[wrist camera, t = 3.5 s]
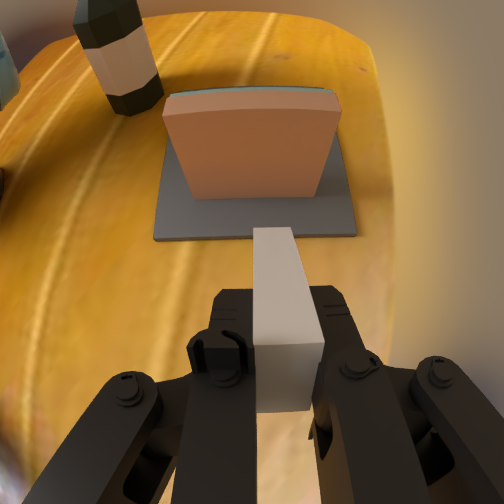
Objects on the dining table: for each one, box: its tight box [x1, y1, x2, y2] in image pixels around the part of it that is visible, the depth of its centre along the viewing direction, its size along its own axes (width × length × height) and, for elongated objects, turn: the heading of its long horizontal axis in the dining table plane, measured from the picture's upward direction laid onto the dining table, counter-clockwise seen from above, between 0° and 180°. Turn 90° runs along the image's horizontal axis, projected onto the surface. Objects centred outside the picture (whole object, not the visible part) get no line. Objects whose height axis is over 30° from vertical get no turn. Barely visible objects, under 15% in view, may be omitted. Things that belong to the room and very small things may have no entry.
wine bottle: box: [73, 0, 164, 116], centre depth 21 cm, size 8×8×30 cm
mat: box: [153, 86, 357, 241], centre depth 31 cm, size 22×20×1 cm
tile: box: [162, 87, 342, 200], centre depth 23 cm, size 2×12×12 cm, turn 91°
